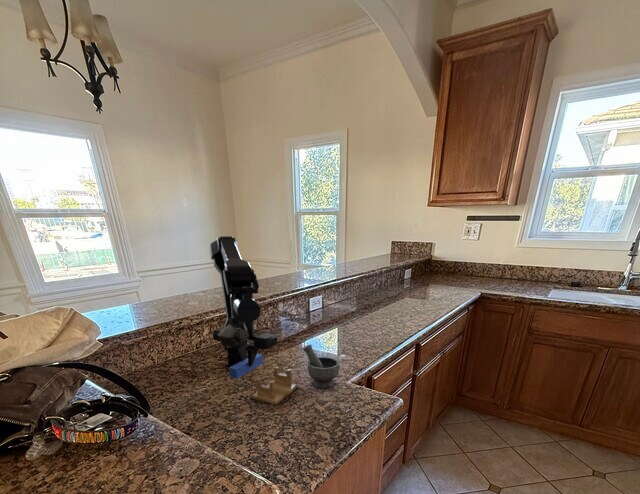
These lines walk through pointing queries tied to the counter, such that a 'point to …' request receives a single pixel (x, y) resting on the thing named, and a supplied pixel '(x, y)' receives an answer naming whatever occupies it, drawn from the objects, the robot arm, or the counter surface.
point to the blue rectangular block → (245, 367)
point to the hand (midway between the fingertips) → (247, 365)
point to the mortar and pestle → (321, 368)
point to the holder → (275, 387)
